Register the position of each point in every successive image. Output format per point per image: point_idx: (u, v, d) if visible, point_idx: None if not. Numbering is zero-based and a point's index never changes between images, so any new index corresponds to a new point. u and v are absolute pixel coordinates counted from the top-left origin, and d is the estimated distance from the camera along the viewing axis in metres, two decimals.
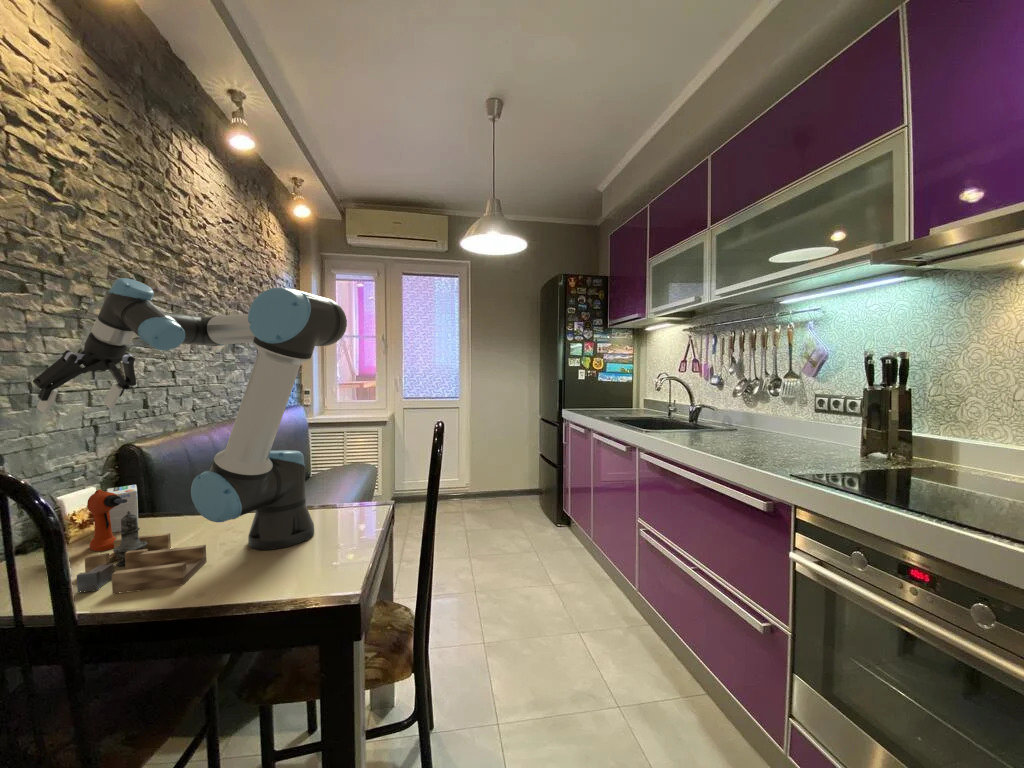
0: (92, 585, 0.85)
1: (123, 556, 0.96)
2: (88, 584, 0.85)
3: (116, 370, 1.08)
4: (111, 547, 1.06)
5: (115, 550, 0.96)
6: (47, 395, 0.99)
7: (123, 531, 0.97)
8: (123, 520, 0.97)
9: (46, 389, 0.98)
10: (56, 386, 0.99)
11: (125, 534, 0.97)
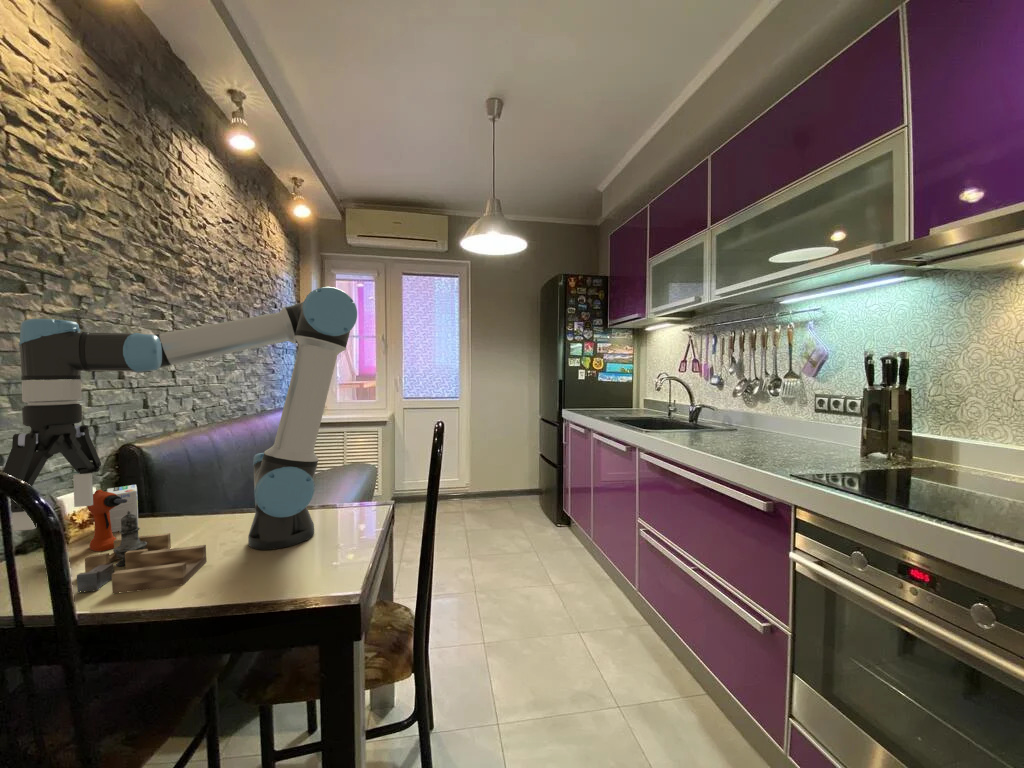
0: (92, 585, 0.85)
1: (123, 556, 0.96)
2: (88, 584, 0.85)
3: (79, 446, 0.82)
4: (111, 547, 1.06)
5: (115, 550, 0.96)
6: None
7: (123, 531, 0.97)
8: (123, 520, 0.97)
9: None
10: (30, 484, 0.72)
11: (125, 534, 0.97)
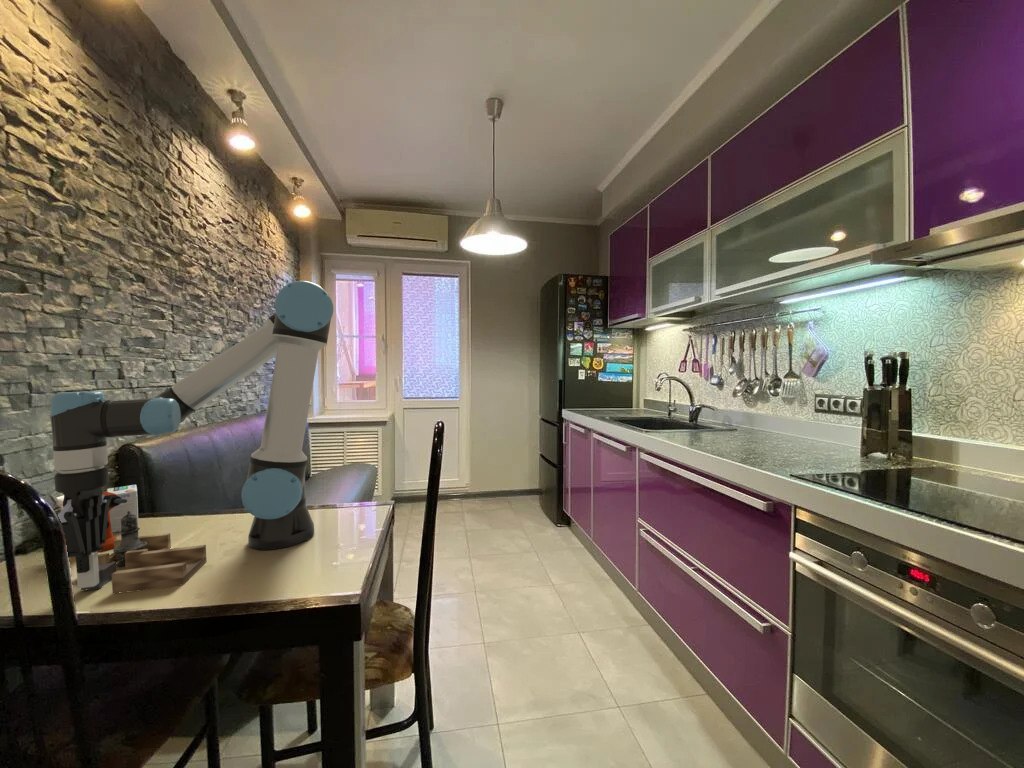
0: None
1: (123, 556, 0.96)
2: None
3: (99, 512, 0.86)
4: (111, 547, 1.06)
5: (115, 550, 0.96)
6: (87, 563, 0.84)
7: (123, 531, 0.97)
8: (123, 520, 0.97)
9: (84, 556, 0.83)
10: (90, 547, 0.84)
11: (125, 534, 0.97)
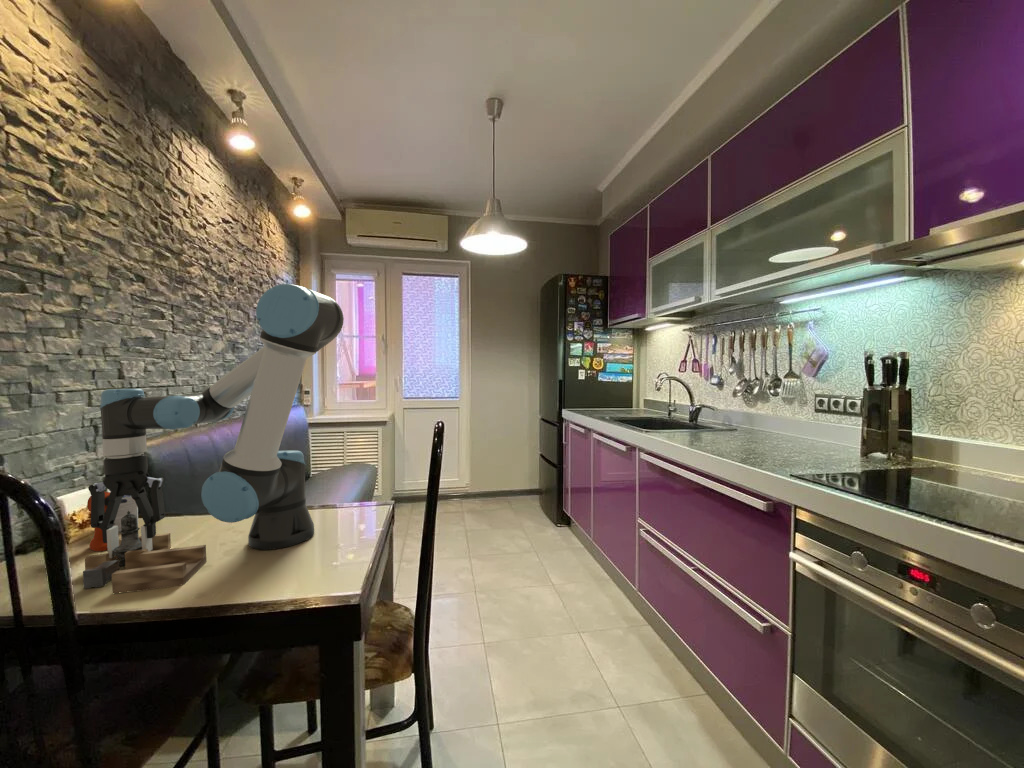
0: (98, 581, 0.87)
1: (123, 556, 0.96)
2: (94, 580, 0.86)
3: (135, 495, 0.97)
4: None
5: (115, 550, 0.96)
6: (106, 536, 0.97)
7: (123, 531, 0.97)
8: (123, 520, 0.97)
9: (102, 529, 0.97)
10: (105, 523, 0.96)
11: (125, 534, 0.97)
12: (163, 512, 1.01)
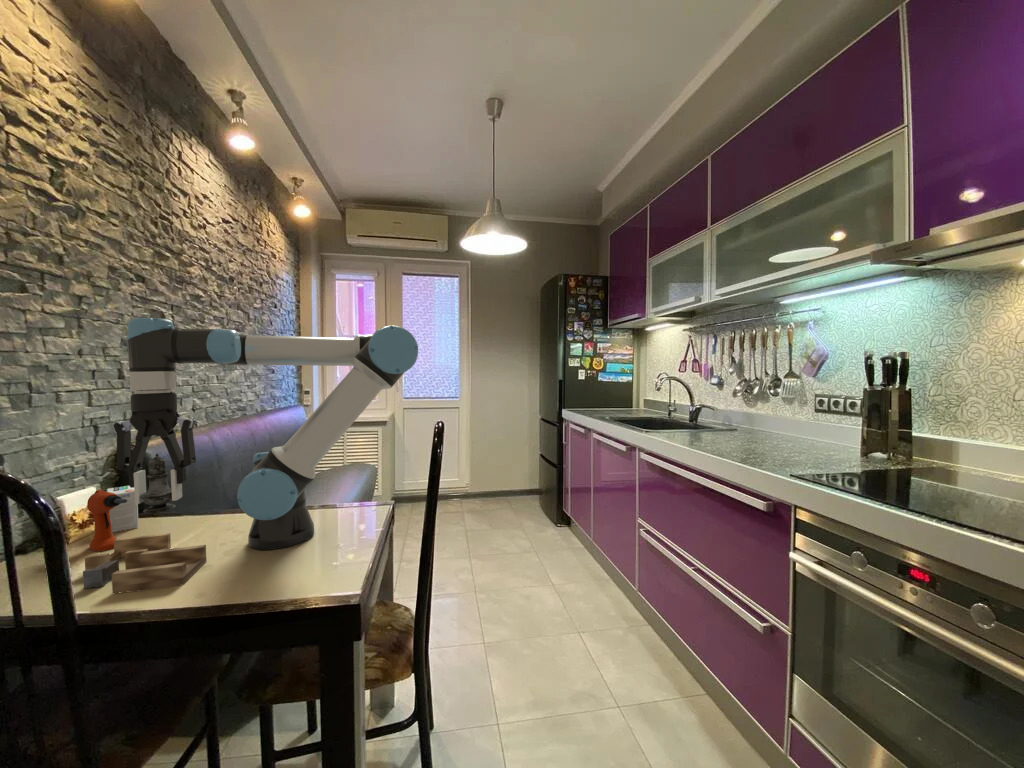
0: (98, 581, 0.87)
1: (151, 501, 0.88)
2: (94, 580, 0.86)
3: (164, 435, 0.89)
4: (111, 547, 1.06)
5: (143, 495, 0.88)
6: (133, 480, 0.88)
7: (151, 474, 0.89)
8: (151, 462, 0.89)
9: (128, 472, 0.88)
10: (132, 465, 0.88)
11: (153, 478, 0.89)
12: (194, 456, 0.92)
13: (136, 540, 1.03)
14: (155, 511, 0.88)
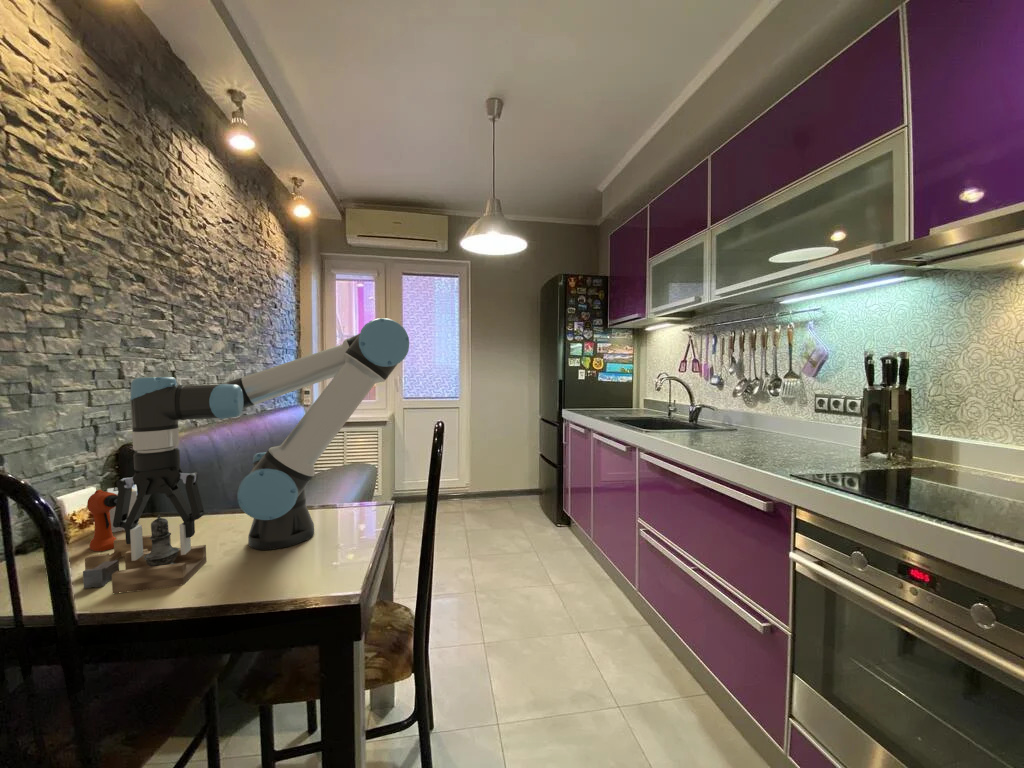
0: (98, 581, 0.87)
1: (155, 564, 0.88)
2: (94, 580, 0.86)
3: (169, 492, 0.89)
4: (111, 547, 1.06)
5: (146, 558, 0.88)
6: (130, 536, 0.88)
7: (154, 537, 0.89)
8: (153, 525, 0.89)
9: (125, 528, 0.88)
10: (129, 522, 0.88)
11: (156, 540, 0.89)
12: (202, 509, 0.93)
13: None
14: None
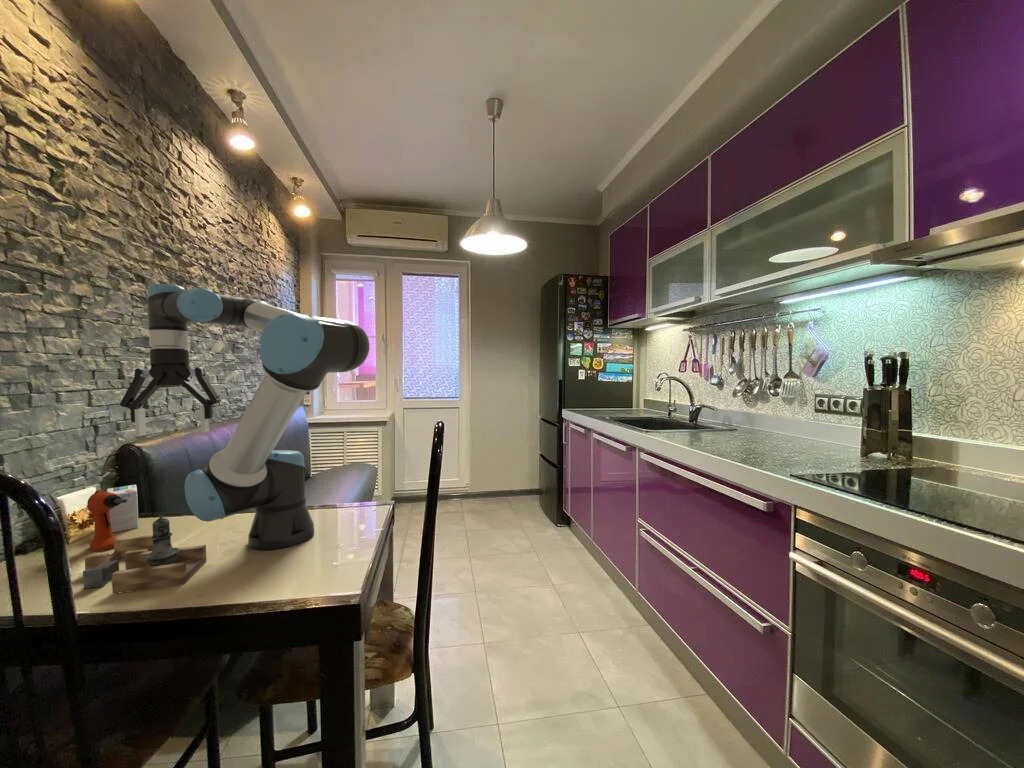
0: (98, 581, 0.87)
1: (155, 564, 0.88)
2: (94, 580, 0.86)
3: (183, 382, 1.04)
4: (111, 547, 1.06)
5: (146, 557, 0.88)
6: (134, 416, 1.03)
7: (155, 537, 0.89)
8: (155, 525, 0.89)
9: (130, 408, 1.02)
10: (135, 404, 1.02)
11: (157, 540, 0.89)
12: (217, 396, 1.08)
13: (136, 540, 1.03)
14: None
